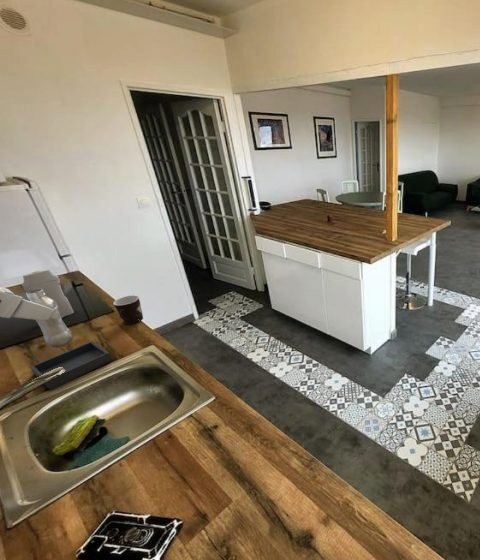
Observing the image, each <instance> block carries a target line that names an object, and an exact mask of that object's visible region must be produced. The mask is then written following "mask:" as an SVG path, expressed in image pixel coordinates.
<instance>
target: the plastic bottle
mask: <svg viewBox="0 0 480 560" xmlns="http://www.w3.org/2000/svg"><path fill="white" fill-rule="evenodd" d="M25 295H26V296H27V297H26V298H27V300H29V301H31V302H34V303H37V304H40V305H43V306H46V307H49V308H51V309H53V310H54V311H53V312H55V313H59V311H58V307H57V304H56V302H55V301H54V300H53V299H51V298H49V297H46V296H45V293H44V291H43V290H42V289H40V288H39V289H33V290H30V291H27V292H26V291H25ZM35 322H36V323H37V324H38V326H39V328H40V330H41V333H42V335H43V339H44V343H45V344H46V345H47V346H48V347H51V348H60V347H63V346H66V345H68V344H71V342H72V341H73V339H74V336H73V332H72V331H71V329H69V328H68V327H67V325H66V324H65V321H64V320H63V319H62V318H61V316H60V314H59V316H58V318H57V319H54V318H49V320H45V321H44V320H35Z"/></svg>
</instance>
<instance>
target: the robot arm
mask: <svg viewBox="0 0 480 560" xmlns="http://www.w3.org/2000/svg"><path fill="white" fill-rule="evenodd" d="M53 311H54V310H53V309H51V308H49V307H46V306H43V305H40V304H37V303H34V302H31V301H30V300H29V299H25V298H24V297H23V296H20V295H18V294H16V293H14V292H13V291H11V290H10V289H9V288H6V287H1V286H0V318H2V319H10V318H16V319H17V318H18V319H26V320H33V321H36V320H44V321H45V320H49V318H54V319H57V318H58V316H59V313H55V312H53Z"/></svg>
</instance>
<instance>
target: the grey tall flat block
mask: <svg viewBox="0 0 480 560" xmlns="http://www.w3.org/2000/svg"><path fill="white" fill-rule="evenodd" d="M22 277H23V282H22V283H21V286H22V288H23V290H24V291H25V293H26V292H27V291H30V290H33V289H39V288H40V289H42V290H43V291H44V293H45V296H46V297H49V298H51V299H53V300H54V301H55V302H56V304H57V307H58V311H59V314H60V316H61V318H65V317H68V316H70V315H72V314H74V313H75V311H74V309H73V308H72V305H71V303H70V301H69V300H68V298H67V297H66V296H65V294H64V292H63V290H62V287H61V284H60V283H61V279H60V278H59V276H58V274H57V275H56V274H54V273H53V272H52V271H51V270H50V269H45V270H36V271H33V272H30V273H26V274H24V275H22Z"/></svg>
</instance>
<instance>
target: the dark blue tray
mask: <svg viewBox="0 0 480 560" xmlns="http://www.w3.org/2000/svg"><path fill="white" fill-rule="evenodd" d="M111 362H113V358H112V356H111V354H110V351H107V350H106V349H104V348H103V347H102V346H100V345H99V344H97V343H96V342H95V341H93V340H91V341H89V342H86V343H83V344H81V345H79V346H76V347H73V348H72V349H69V350H67V351H65V352H62V353H59V354H58V355H54V356H52V357H50V358H47V359H45V360H42V361H40V362H37V363H35V364H33V365H31V366H29V368H30V370H31V372H32V374H33V375H34V376H35V377H36V378H37V377H39V376H41V375H43V374H44V373H46V372H49V371H51V370H53V369H55V368H58V367H63V368H64V369H65V370H66V371H65V372H64V373H62V374H61V375H59V376H57V377H56V378H53V379H51V380H50V381H48V382H46V383H45V384H44V386H45V387H46V388H47V389H48V390H49V391H51V390H53V389H55V388H58V387H59V386H62V385H64V384H66V383H68V382H70V381H72V380H75V379H77V378H79V377H82V376H83V375H85V374H87V373H90V372H92V371H93V370H95V369H98V368H100V367H102V366H104V365H106V364H108V363H111Z"/></svg>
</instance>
